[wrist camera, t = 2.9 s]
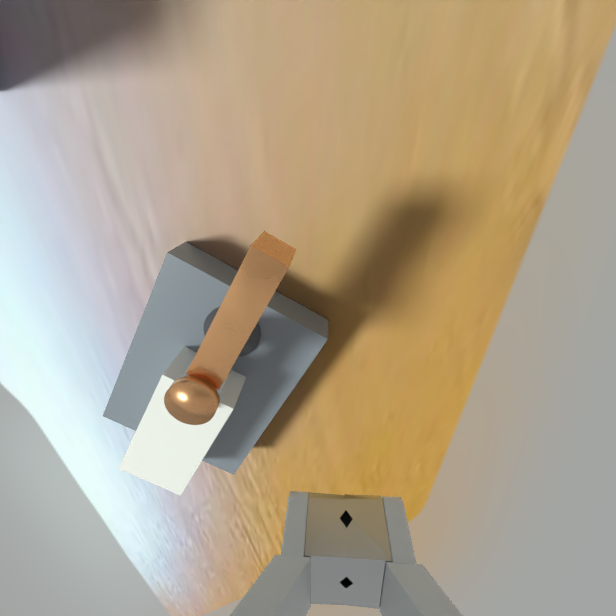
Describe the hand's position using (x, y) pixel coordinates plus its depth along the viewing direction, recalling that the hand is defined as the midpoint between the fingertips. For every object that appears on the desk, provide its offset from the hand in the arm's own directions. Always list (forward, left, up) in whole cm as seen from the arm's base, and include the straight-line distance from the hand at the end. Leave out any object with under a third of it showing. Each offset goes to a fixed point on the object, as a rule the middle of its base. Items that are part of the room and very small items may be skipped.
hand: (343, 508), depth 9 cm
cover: (+14, -5, -14) cm, 20 cm away
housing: (+11, -5, -17) cm, 21 cm away
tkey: (+3, -5, -14) cm, 15 cm away
